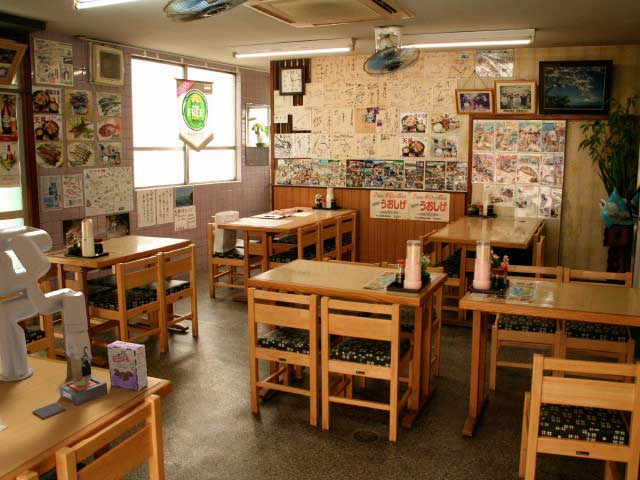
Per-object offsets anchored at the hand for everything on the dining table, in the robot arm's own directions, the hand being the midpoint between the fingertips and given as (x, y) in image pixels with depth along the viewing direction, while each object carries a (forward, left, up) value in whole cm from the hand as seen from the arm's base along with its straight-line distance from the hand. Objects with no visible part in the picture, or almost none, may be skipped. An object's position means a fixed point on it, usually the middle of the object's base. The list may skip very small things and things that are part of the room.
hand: (81, 372), depth 219 cm
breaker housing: (0, 0, -9) cm, 9 cm away
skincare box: (0, 0, -4) cm, 4 cm away
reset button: (0, 0, -7) cm, 7 cm away
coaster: (+2, -14, -9) cm, 17 cm away
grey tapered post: (-20, +7, -9) cm, 23 cm away
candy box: (+6, +15, -9) cm, 19 cm away
